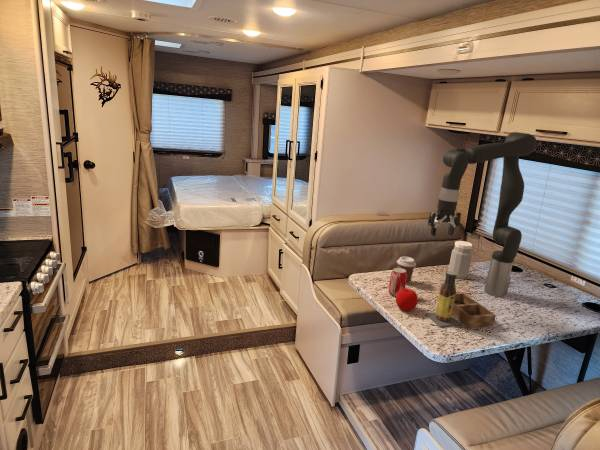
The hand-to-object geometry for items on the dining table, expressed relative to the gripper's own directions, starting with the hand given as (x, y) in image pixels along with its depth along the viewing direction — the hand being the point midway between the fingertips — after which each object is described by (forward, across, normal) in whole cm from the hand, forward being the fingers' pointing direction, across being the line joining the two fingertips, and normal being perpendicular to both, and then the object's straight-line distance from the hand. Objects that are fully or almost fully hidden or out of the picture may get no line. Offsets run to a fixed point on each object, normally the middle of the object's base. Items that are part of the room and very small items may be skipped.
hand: (441, 235), depth 170 cm
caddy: (+30, +6, -16) cm, 35 cm away
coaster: (+30, -6, -18) cm, 36 cm away
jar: (+30, +31, +21) cm, 48 cm away
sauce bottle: (+30, -6, -18) cm, 35 cm away
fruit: (+30, -17, -7) cm, 36 cm away
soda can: (+30, -14, +6) cm, 34 cm away
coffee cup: (+30, -3, +18) cm, 35 cm away
